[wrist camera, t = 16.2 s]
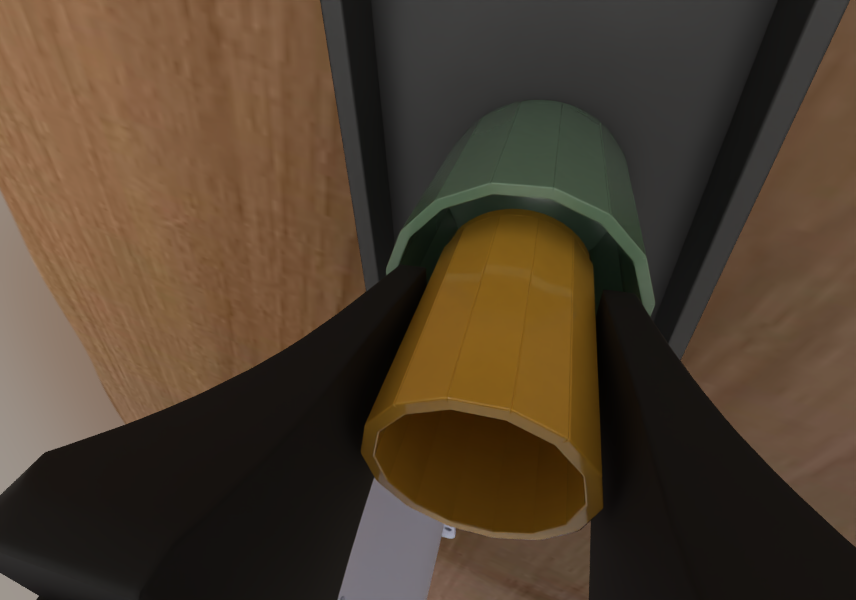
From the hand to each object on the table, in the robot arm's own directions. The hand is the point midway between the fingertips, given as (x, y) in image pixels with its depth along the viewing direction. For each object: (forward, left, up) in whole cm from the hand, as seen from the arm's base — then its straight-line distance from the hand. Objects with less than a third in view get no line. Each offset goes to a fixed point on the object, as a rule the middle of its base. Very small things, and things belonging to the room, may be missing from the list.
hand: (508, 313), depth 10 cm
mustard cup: (0, 0, -1) cm, 1 cm away
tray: (0, 0, -7) cm, 7 cm away
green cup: (0, 0, -6) cm, 6 cm away
